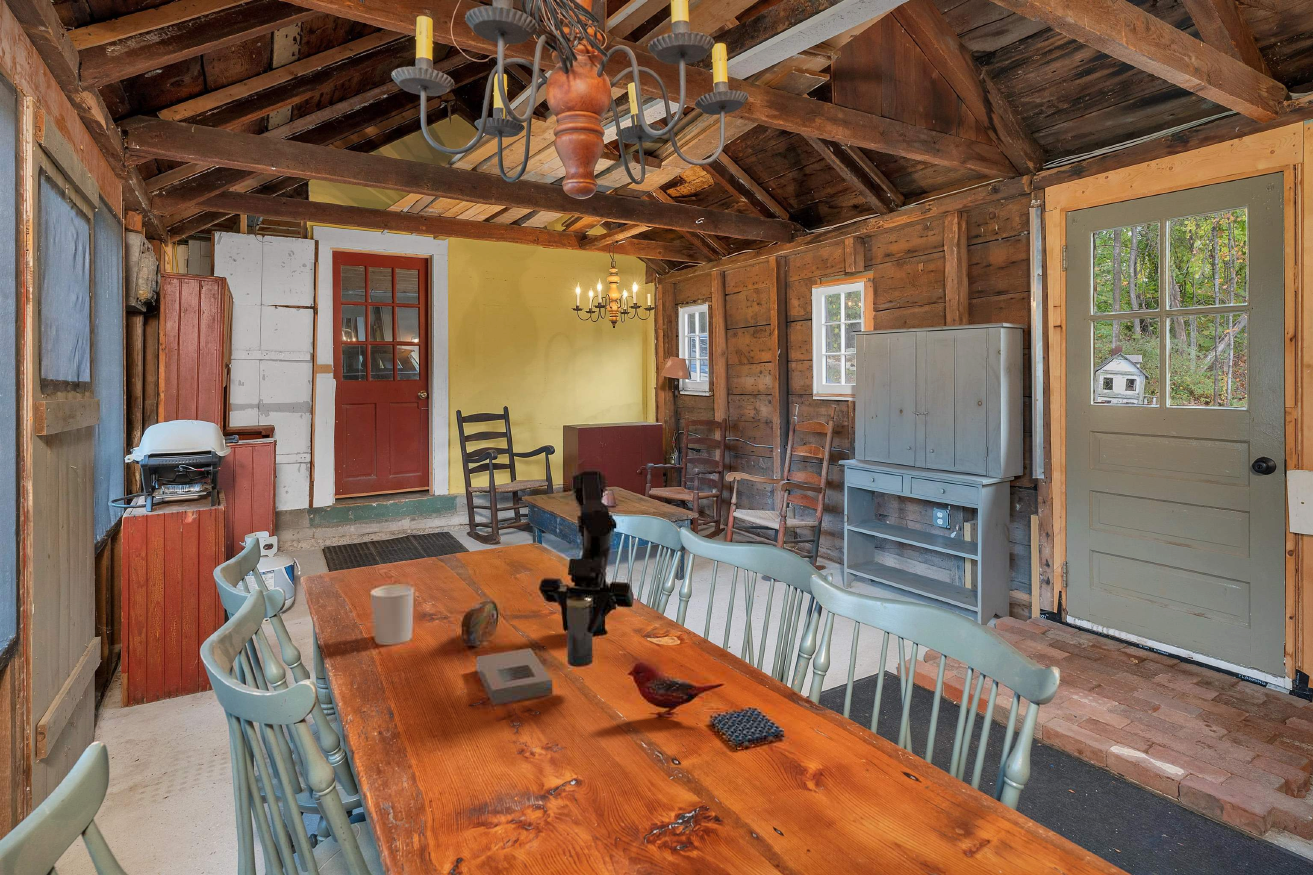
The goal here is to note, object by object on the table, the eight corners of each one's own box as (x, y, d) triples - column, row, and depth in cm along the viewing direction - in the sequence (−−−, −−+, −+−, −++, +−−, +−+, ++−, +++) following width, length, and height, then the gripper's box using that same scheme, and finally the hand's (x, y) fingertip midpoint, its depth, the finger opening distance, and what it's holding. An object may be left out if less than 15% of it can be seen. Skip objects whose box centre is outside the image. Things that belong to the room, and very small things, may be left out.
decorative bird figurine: (627, 711, 126) (627, 659, 126) (723, 712, 126) (723, 660, 125) (626, 719, 124) (626, 665, 123) (724, 720, 123) (724, 666, 122)
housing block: (530, 661, 150) (530, 648, 150) (552, 693, 134) (552, 679, 134) (476, 670, 145) (476, 656, 145) (492, 705, 129) (492, 690, 129)
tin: (471, 652, 156) (471, 616, 155) (459, 651, 156) (458, 615, 156) (499, 629, 170) (499, 596, 170) (488, 628, 171) (487, 595, 170)
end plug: (588, 654, 138) (588, 592, 137) (596, 664, 133) (595, 599, 133) (564, 658, 136) (563, 595, 135) (571, 668, 131) (570, 602, 131)
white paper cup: (423, 634, 167) (422, 586, 166) (396, 648, 157) (394, 598, 157) (391, 629, 170) (389, 582, 169) (362, 643, 161) (360, 593, 160)
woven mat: (735, 754, 112) (735, 742, 112) (706, 725, 122) (706, 714, 122) (788, 742, 116) (788, 730, 116) (756, 715, 126) (756, 704, 126)
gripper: (541, 539, 139) (520, 609, 129) (630, 543, 135) (615, 615, 125) (555, 567, 147) (537, 635, 137) (639, 571, 143) (626, 641, 133)
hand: (577, 631), depth 133 cm, fingers closed on end plug, 5 cm apart
